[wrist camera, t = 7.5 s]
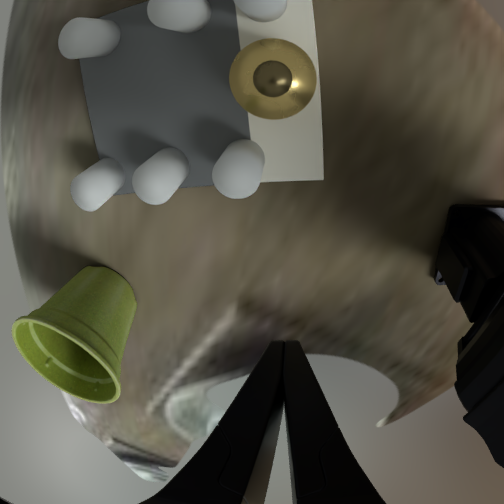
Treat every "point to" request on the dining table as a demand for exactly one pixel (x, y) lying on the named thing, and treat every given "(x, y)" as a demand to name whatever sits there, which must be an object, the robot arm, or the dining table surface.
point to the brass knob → (272, 78)
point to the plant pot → (81, 334)
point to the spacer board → (187, 100)
